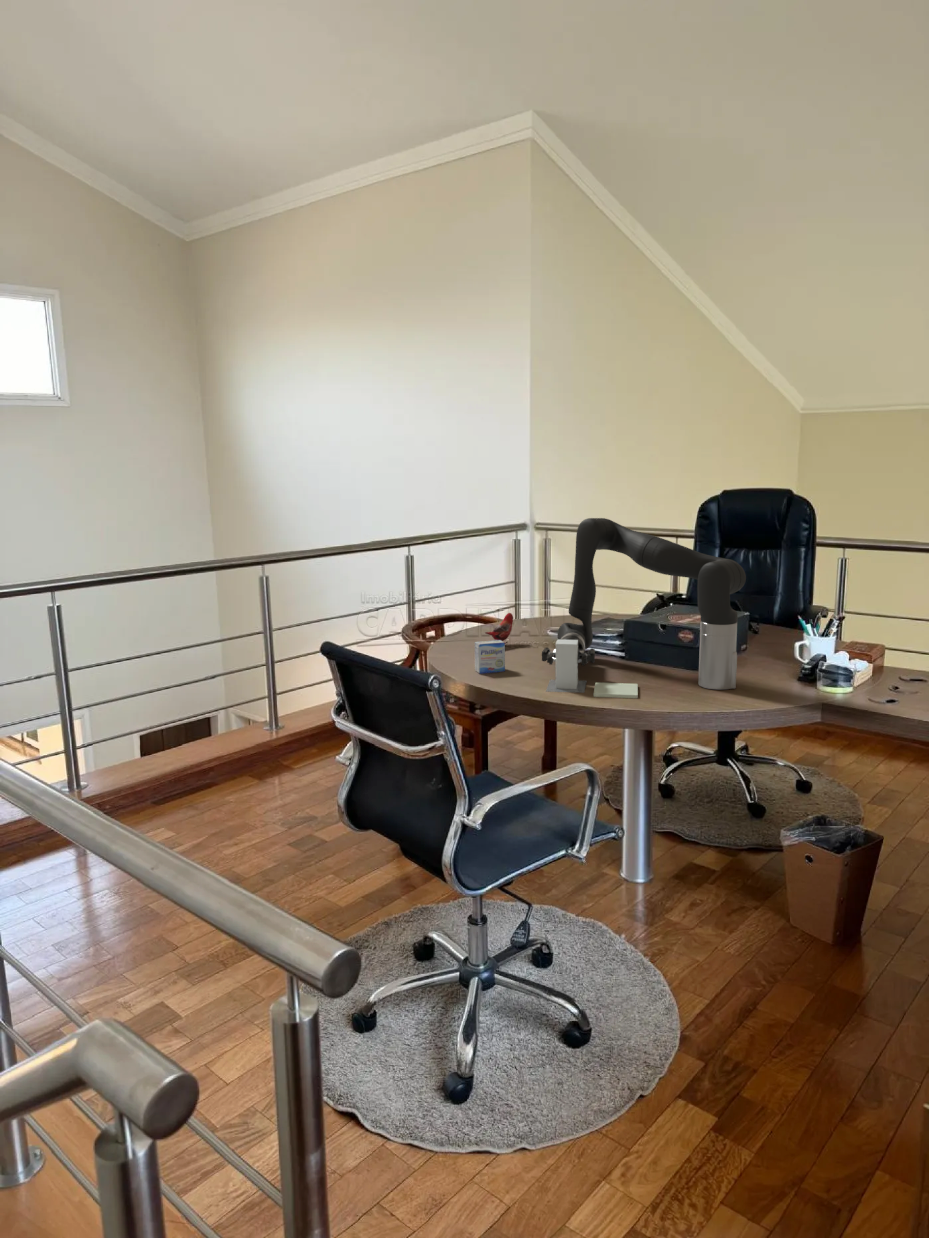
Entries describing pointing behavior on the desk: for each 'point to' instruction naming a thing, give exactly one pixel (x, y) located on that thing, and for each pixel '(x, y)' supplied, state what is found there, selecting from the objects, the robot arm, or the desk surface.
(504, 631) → the decorative bird figurine
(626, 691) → the sage mat
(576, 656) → the light grey block
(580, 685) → the tile
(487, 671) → the medicine box
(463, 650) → the desk surface
